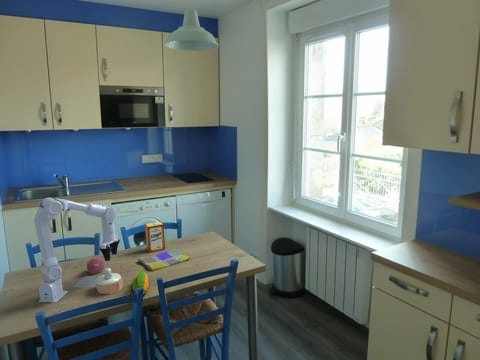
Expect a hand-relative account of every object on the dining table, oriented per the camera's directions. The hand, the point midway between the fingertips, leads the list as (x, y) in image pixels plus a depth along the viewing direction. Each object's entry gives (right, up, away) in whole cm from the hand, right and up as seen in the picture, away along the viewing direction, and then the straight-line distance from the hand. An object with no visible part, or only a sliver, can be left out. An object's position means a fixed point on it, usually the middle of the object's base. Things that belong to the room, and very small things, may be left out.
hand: (110, 257), depth 177 cm
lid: (+3, -8, -11) cm, 14 cm away
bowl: (+3, -12, -10) cm, 16 cm away
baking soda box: (+13, -4, +38) cm, 41 cm away
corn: (+18, -12, -10) cm, 24 cm away
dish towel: (+21, -7, +21) cm, 31 cm away
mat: (-8, -11, -3) cm, 14 cm away
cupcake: (-13, -6, +10) cm, 18 cm away
